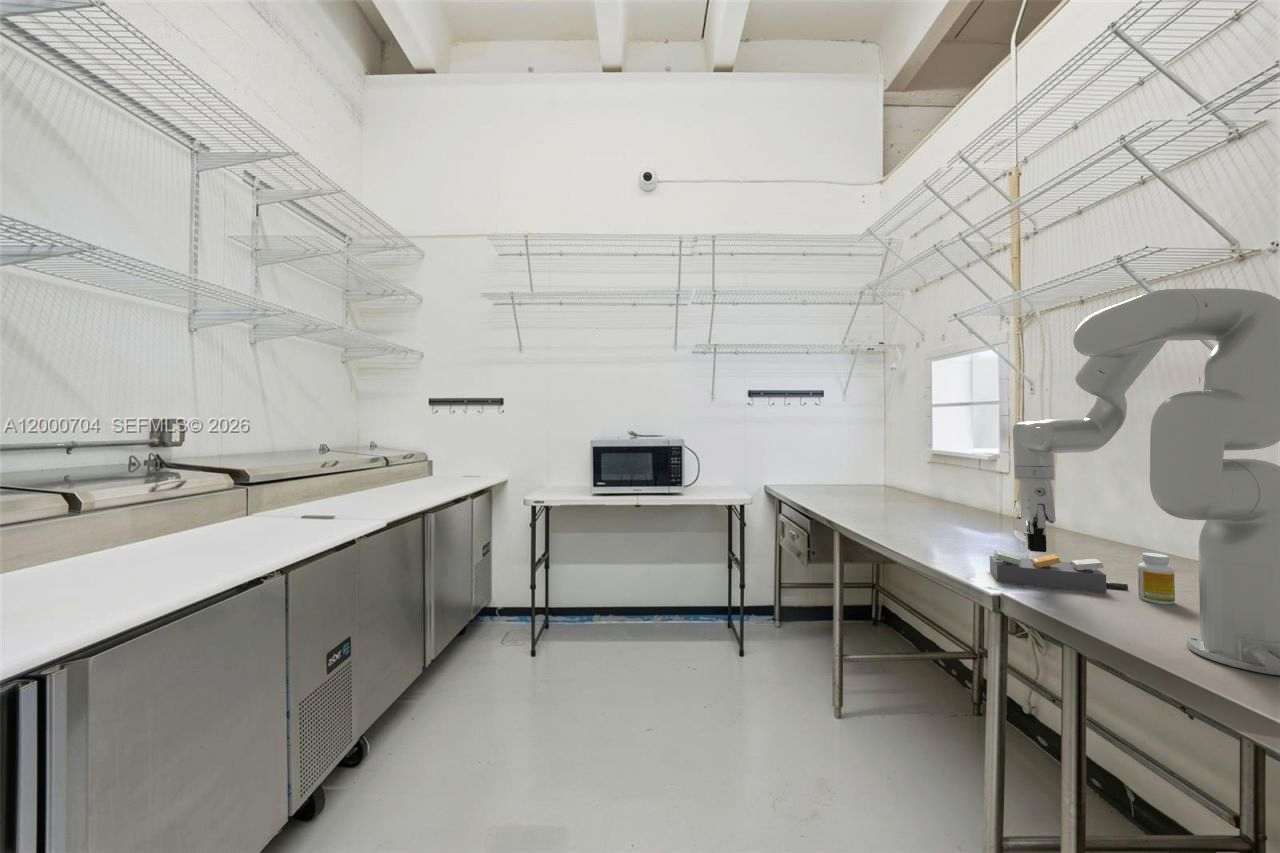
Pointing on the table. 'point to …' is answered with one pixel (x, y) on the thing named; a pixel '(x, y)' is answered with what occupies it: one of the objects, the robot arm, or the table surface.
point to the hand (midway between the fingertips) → (1037, 550)
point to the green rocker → (1007, 557)
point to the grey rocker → (1087, 564)
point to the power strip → (1051, 576)
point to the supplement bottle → (1156, 579)
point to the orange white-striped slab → (1046, 560)
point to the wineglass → (1022, 532)
